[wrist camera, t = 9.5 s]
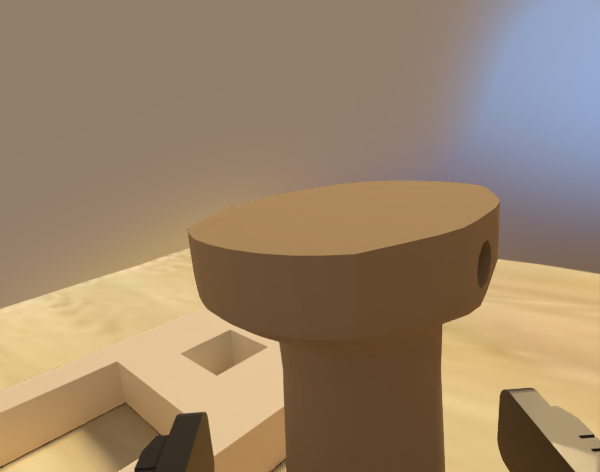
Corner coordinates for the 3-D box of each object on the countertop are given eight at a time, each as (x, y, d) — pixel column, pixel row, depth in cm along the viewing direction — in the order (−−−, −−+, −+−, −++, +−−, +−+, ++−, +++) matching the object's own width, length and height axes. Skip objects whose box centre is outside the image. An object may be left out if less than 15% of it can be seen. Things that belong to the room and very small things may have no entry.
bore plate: (212, 338, 35) (207, 305, 34) (346, 407, 25) (344, 362, 24) (-94, 485, 22) (-113, 436, 21) (-54, 742, 12) (-87, 670, 11)
